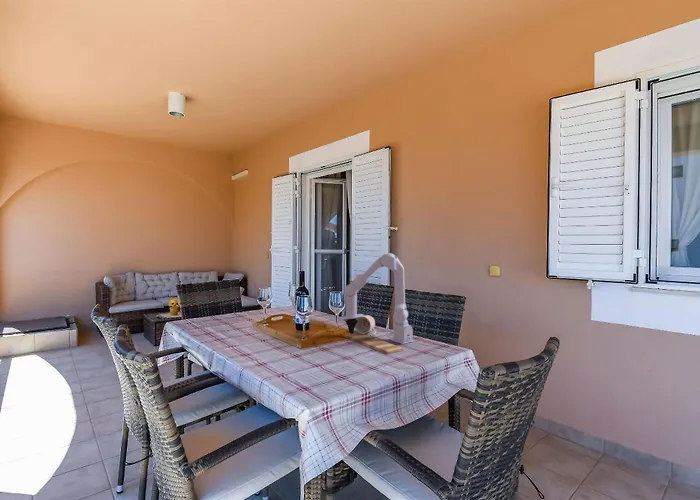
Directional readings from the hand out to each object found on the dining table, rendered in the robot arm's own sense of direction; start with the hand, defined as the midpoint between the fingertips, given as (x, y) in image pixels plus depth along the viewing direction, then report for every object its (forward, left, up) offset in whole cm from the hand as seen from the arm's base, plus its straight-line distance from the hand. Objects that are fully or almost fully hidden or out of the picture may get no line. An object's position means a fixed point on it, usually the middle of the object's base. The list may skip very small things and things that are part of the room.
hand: (351, 333), depth 191 cm
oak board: (-23, 0, -1) cm, 23 cm away
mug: (+2, -14, +2) cm, 14 cm away
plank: (-5, 0, -1) cm, 5 cm away
